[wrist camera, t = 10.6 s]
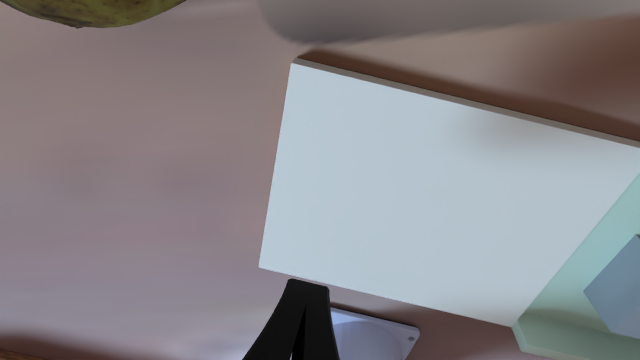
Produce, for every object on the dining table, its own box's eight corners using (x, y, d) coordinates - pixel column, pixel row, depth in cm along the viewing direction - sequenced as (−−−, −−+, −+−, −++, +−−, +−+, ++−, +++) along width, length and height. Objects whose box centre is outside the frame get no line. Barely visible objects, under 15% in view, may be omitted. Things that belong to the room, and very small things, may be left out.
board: (505, 312, 25) (511, 327, 24) (263, 255, 25) (258, 267, 24) (639, 141, 18) (656, 152, 16) (295, 57, 17) (291, 62, 16)
